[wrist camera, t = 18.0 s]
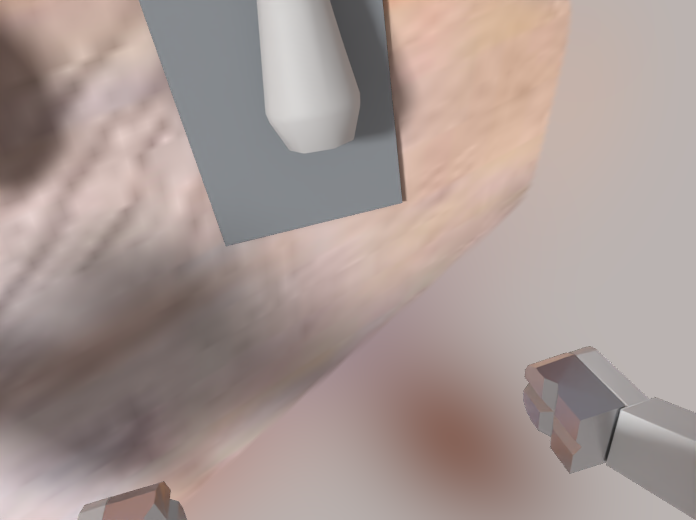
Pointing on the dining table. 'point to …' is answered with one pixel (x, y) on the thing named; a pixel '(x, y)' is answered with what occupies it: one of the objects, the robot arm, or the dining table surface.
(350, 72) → the salt shaker
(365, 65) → the mat
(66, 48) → the dining table surface
